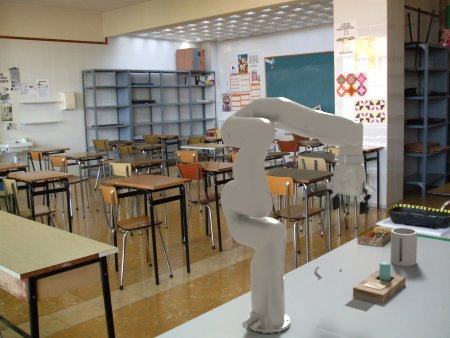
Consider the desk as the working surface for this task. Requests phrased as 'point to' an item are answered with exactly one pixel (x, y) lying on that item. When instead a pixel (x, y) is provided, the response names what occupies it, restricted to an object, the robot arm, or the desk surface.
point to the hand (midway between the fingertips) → (349, 211)
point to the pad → (360, 304)
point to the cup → (403, 246)
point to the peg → (385, 271)
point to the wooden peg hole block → (379, 287)
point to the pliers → (319, 275)
